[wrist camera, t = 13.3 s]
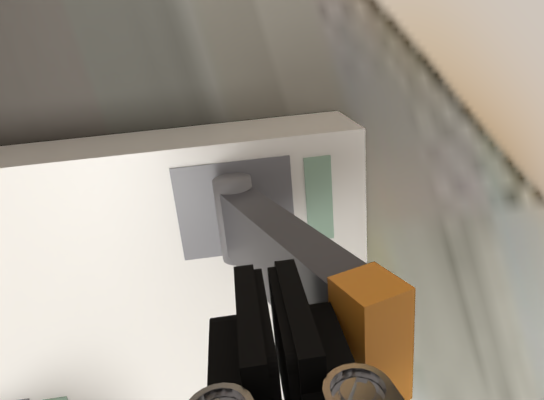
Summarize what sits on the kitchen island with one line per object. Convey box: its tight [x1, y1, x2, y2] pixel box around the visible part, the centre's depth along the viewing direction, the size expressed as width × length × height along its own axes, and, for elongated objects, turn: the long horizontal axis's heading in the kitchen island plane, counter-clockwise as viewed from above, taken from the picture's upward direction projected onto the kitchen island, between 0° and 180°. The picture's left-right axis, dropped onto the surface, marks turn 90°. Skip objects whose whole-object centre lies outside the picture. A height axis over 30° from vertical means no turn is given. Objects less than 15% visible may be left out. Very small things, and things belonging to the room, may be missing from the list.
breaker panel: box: [0, 111, 367, 400], centre depth 24 cm, size 24×16×5 cm
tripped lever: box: [212, 173, 415, 400], centre depth 15 cm, size 2×4×11 cm, turn 5°
